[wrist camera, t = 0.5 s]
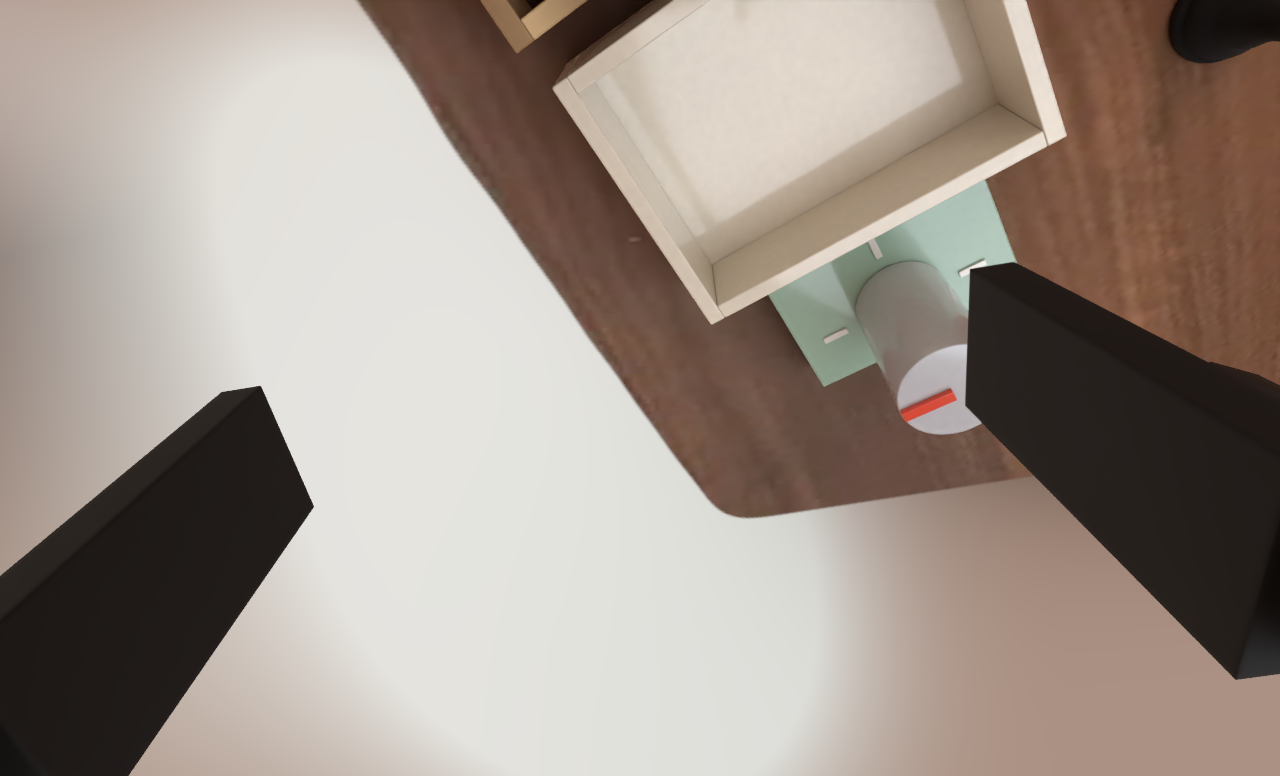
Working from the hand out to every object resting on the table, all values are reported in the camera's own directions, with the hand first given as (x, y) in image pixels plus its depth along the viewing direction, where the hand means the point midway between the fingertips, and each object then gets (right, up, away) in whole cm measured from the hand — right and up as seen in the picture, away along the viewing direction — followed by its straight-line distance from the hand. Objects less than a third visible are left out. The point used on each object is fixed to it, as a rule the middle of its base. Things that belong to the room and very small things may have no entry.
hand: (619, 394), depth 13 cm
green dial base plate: (+14, +7, +27) cm, 31 cm away
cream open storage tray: (+8, +15, +22) cm, 28 cm away
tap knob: (+15, +5, +25) cm, 30 cm away
